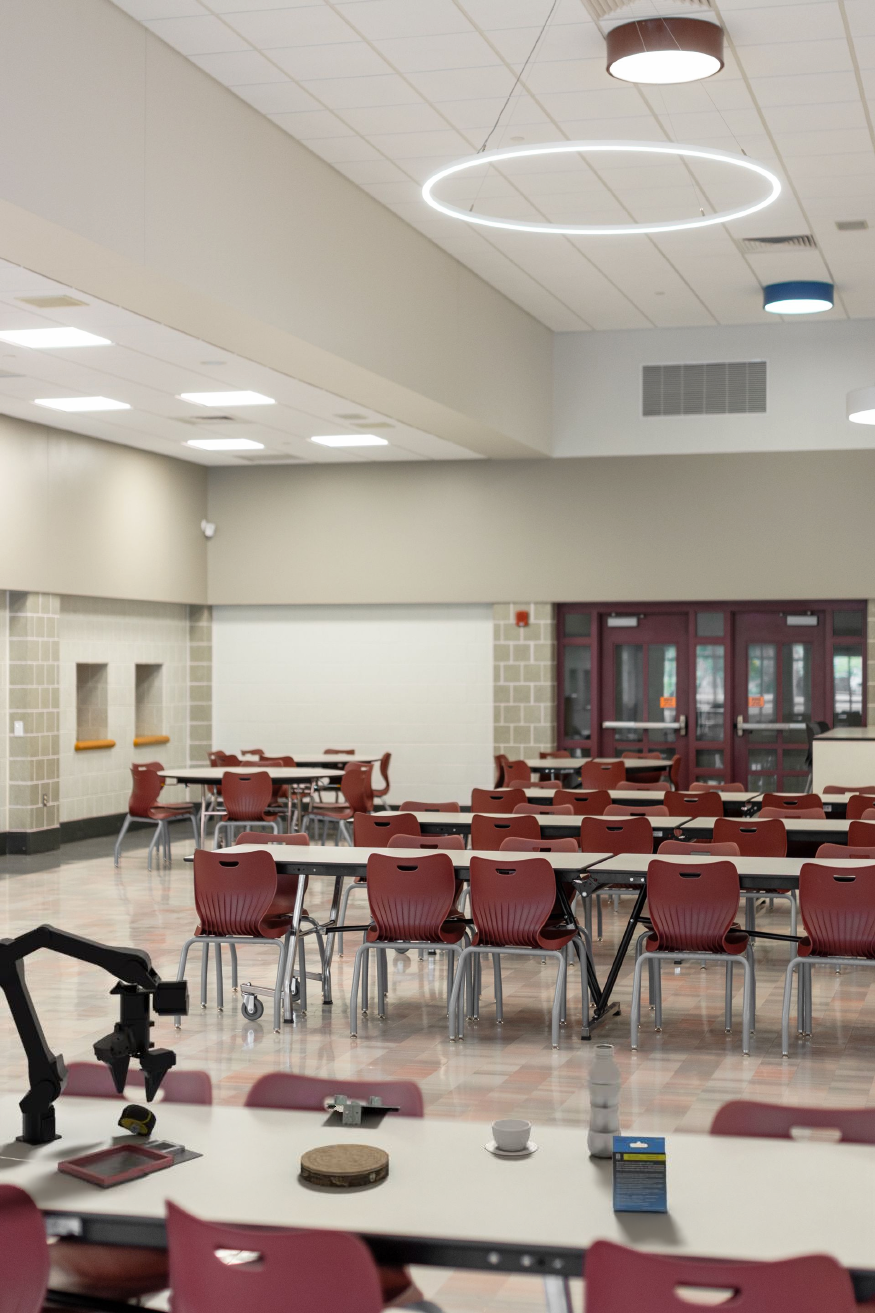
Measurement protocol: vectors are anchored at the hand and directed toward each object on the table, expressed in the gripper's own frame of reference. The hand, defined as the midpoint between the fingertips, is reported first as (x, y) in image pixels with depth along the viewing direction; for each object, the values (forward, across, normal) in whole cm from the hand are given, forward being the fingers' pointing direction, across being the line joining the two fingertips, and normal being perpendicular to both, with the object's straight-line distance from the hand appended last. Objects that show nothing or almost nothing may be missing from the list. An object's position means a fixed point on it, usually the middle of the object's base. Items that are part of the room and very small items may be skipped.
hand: (134, 1098), depth 282 cm
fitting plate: (+8, +12, -10) cm, 18 cm away
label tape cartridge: (+8, +95, +31) cm, 100 cm away
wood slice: (+8, +45, +12) cm, 47 cm away
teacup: (+8, +59, +42) cm, 73 cm away
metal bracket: (+6, +30, +42) cm, 52 cm away
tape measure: (+8, 0, 0) cm, 8 cm away
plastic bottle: (+8, +75, +50) cm, 91 cm away
